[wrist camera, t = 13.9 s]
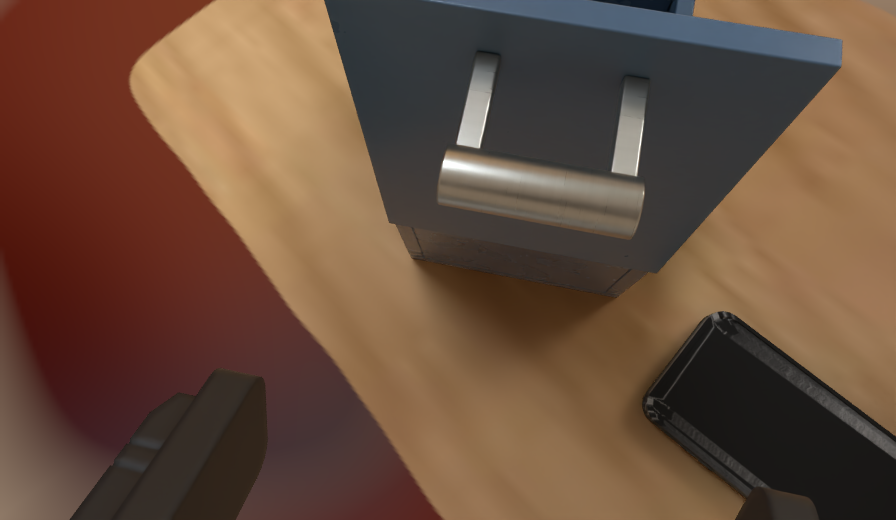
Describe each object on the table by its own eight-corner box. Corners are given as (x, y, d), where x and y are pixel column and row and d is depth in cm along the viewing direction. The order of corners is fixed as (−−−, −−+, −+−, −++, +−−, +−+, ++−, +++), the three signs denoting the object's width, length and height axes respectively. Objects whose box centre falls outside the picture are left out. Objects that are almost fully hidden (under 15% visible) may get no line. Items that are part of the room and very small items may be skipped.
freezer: (461, 29, 46) (456, -64, 37) (654, 61, 45) (699, -28, 36) (411, 258, 43) (391, 218, 34) (617, 298, 42) (655, 267, 33)
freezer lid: (326, -42, 18) (268, 137, 16) (843, 39, 16) (835, 240, 15) (392, 208, 33) (366, 310, 32) (658, 258, 32) (645, 366, 31)
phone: (719, 302, 40) (948, 476, 38) (712, 305, 41) (935, 474, 39) (637, 409, 39) (867, 595, 37) (633, 409, 40) (856, 589, 38)
